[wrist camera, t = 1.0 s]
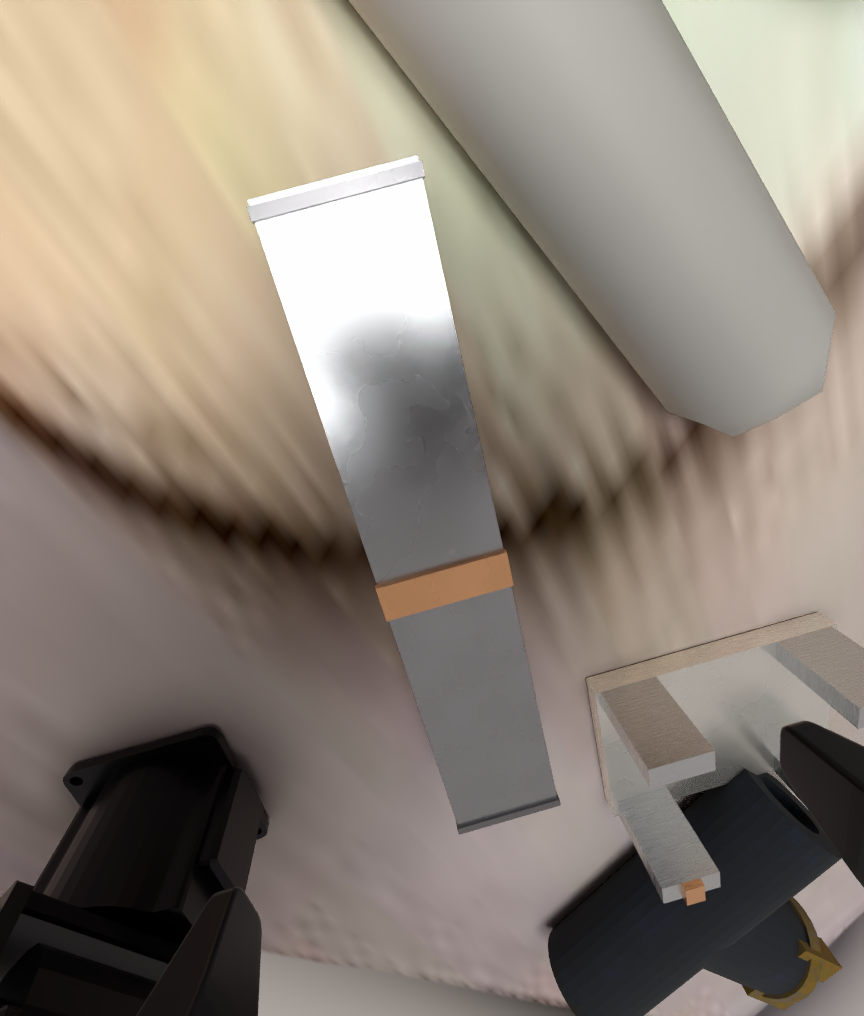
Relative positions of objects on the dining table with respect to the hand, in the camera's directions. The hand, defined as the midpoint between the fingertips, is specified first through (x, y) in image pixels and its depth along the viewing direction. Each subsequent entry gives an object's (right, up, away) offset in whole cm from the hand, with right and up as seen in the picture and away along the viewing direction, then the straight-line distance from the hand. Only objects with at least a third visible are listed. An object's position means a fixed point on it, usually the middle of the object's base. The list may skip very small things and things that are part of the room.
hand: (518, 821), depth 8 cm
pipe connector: (+14, -16, +21) cm, 30 cm away
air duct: (-1, +4, +11) cm, 12 cm away
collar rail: (+12, -5, +16) cm, 21 cm away
